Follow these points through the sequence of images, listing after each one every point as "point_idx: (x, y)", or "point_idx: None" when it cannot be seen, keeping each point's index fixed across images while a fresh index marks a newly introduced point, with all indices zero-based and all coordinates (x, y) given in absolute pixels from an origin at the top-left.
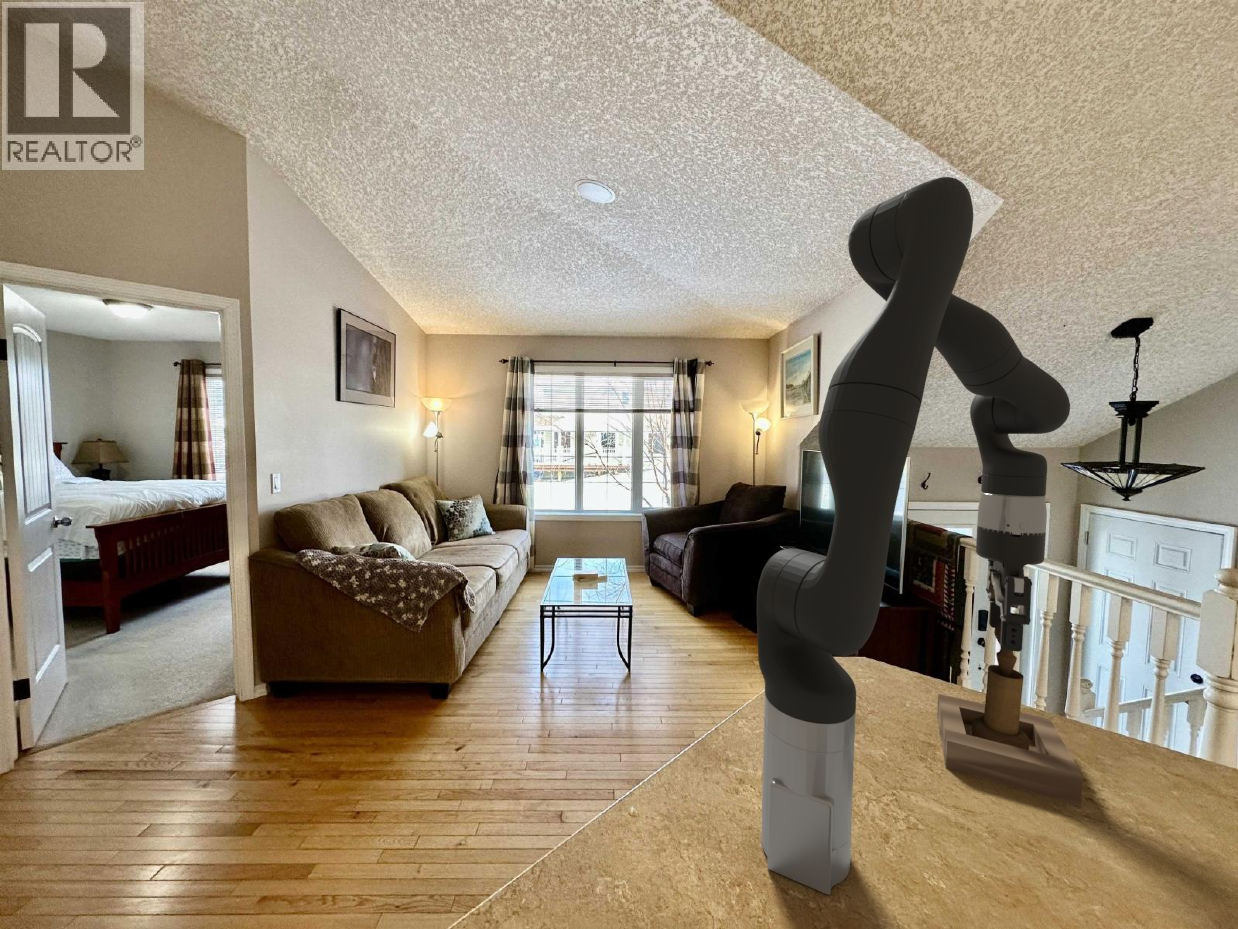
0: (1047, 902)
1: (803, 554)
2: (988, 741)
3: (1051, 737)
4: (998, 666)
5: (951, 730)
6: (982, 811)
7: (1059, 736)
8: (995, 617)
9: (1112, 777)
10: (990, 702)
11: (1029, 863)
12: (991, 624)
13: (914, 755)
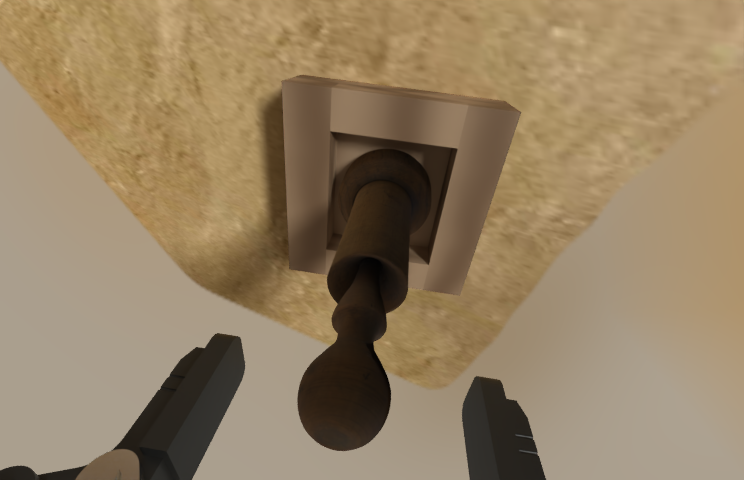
0: (85, 137)
1: None
2: (322, 168)
3: None
4: (401, 282)
5: (332, 102)
6: (210, 109)
7: None
8: (480, 432)
9: None
10: (360, 209)
11: (139, 140)
12: (478, 386)
13: (316, 11)
